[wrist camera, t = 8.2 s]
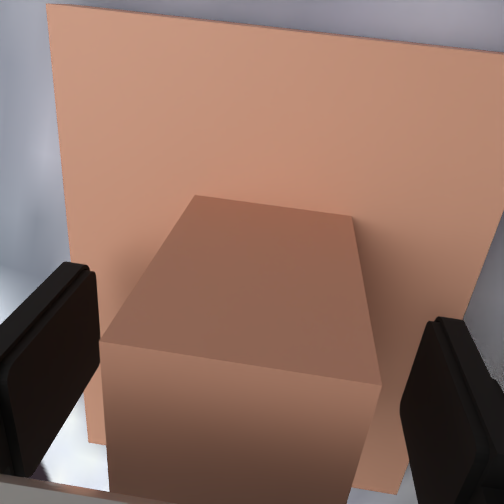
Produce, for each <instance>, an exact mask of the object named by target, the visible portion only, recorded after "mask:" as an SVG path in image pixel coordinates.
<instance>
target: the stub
mask: <svg viewBox="0 0 504 504" xmlns="http://www.w3.org/2000/svg"><path fill="white" fill-rule="evenodd" d="M46 10H47V20H48V31H49V41H50V51H51V62H52V72H53V82H54V92H55V103H56V113H57V123H58V134H59V144H60V154H61V164H62V175H63V185H64V195H65V205H66V216H67V226H68V236H69V247H70V257H71V262H72V263H79V264H86V265H88V266H89V268H90V271H94V272H95V274H96V279H97V294H98V308H99V323H100V337H101V339H100V340H99V351H100V364H99V367H98V368H97V370H96V372H95V373H94V375H93V377H92V378H91V380H90V382H89V383H88V385H87V387H86V388H85V390H84V401H85V411H86V421H87V432H88V442H89V443H95V444H101V445H106V448H107V462H108V476H109V490H110V492H112V493H118V494H124V495H130V496H135V497H141V498H147V499H153V500H158V501H164V502H170V503H175V504H346V503H347V500H348V496H349V493H350V490H351V487H353V488H359V489H365V490H371V491H377V492H383V493H388V494H394V495H397V492H398V490H399V487H400V484H401V482H402V479H403V476H404V474H405V471H406V468H407V466H408V463H409V457H408V452H407V448H406V443H405V438H404V433H403V429H402V424H401V419H400V411H399V409H400V401H401V398H402V395H403V392H404V389H405V386H406V383H407V380H408V377H409V374H410V371H411V368H412V365H413V362H414V359H415V356H416V353H417V350H418V347H419V344H420V341H421V338H422V335H423V332H424V329H425V326H426V324H427V322H428V321H434V320H435V319H436V317H438V316H441V317H448V318H454V319H461V320H463V317H464V314H465V312H466V309H467V306H468V304H469V301H470V298H471V296H472V293H473V290H474V288H475V285H476V282H477V280H478V277H479V274H480V272H481V269H482V266H483V264H484V261H485V258H486V256H487V253H488V251H489V248H490V245H491V243H492V240H493V237H494V235H495V232H496V229H497V227H498V224H499V221H500V219H501V216H502V213H503V211H504V53H502V52H494V51H485V50H476V49H467V48H458V47H449V46H440V45H431V44H422V43H413V42H404V41H395V40H386V39H377V38H368V37H359V36H350V35H341V34H332V33H323V32H314V31H305V30H296V29H287V28H278V27H269V26H261V25H252V24H243V23H234V22H225V21H216V20H207V19H198V18H189V17H180V16H171V15H162V14H153V13H144V12H135V11H126V10H117V9H108V8H99V7H90V6H81V5H72V4H46Z"/></svg>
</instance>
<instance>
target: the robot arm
mask: <svg viewBox="0 0 504 504" xmlns="http://www.w3.org/2000/svg"><path fill="white" fill-rule="evenodd" d="M100 339H101V337H100V323H99V308H98V294H97V279H96V274H95V272H94V271H90V268H89V266H88V265H86V264H79V263H72V262H63V263H62V264H61V265H60V266H59V267H58V268H57V269H56V270H55V271H54V272H53V273H52V274H51V275H50V276H49V277H48V278H47V279H46V280H45V281H44V282H43V283H42V284H41V285H40V286H39V287H38V288H37V289H36V290H35V291H34V292H33V293H32V294H31V295H30V296H29V297H28V298H27V299H26V300H25V301H24V302H23V303H22V304H21V305H20V306H19V307H18V308H17V309H16V310H15V311H14V312H13V313H12V314H11V315H10V316H9V317H8V318H7V319H6V320H5V321H4V322H3V323H2V324H1V325H0V504H175V503H170V502H164V501H158V500H153V499H147V498H141V497H135V496H130V495H124V494H118V493H112V492H106V491H100V490H94V489H89V488H83V487H77V486H71V485H65V484H59V483H53V482H47V481H42V480H36V479H30V478H29V477H31V476H32V475H33V473H34V472H35V470H36V469H37V467H38V465H39V464H40V462H41V460H42V459H43V457H44V456H45V454H46V452H47V451H48V449H49V447H50V446H51V444H52V442H53V441H54V439H55V437H56V436H57V434H58V433H59V431H60V429H61V428H62V426H63V424H64V423H65V421H66V419H67V418H68V416H69V414H70V413H71V411H72V410H73V408H74V406H75V405H76V403H77V401H78V400H79V398H80V396H81V395H82V393H83V391H84V390H85V388H86V387H87V385H88V383H89V382H90V380H91V378H92V377H93V375H94V373H95V372H96V370H97V368H98V367H99V364H100V351H99V340H100ZM399 411H400V419H401V424H402V429H403V433H404V438H405V443H406V448H407V452H408V457H409V462H410V467H411V471H412V476H413V481H414V486H415V490H416V495H417V500H418V504H504V393H503V391H502V389H501V387H500V385H499V384H498V382H497V381H496V380H494V379H493V378H491V376H490V374H489V372H488V370H487V368H486V366H485V364H484V362H483V360H482V358H481V355H480V353H479V351H478V349H477V347H476V345H475V343H474V341H473V339H472V337H471V335H470V333H469V331H468V328H467V326H466V324H465V322H464V321H463V320H461V319H454V318H448V317H441V316H438V317H436V319H435V320H434V321H428V322H427V324H426V326H425V329H424V332H423V335H422V338H421V341H420V344H419V347H418V350H417V353H416V356H415V359H414V362H413V365H412V368H411V371H410V374H409V377H408V380H407V383H406V386H405V389H404V392H403V395H402V398H401V401H400V409H399ZM24 477H26V478H24Z"/></svg>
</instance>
